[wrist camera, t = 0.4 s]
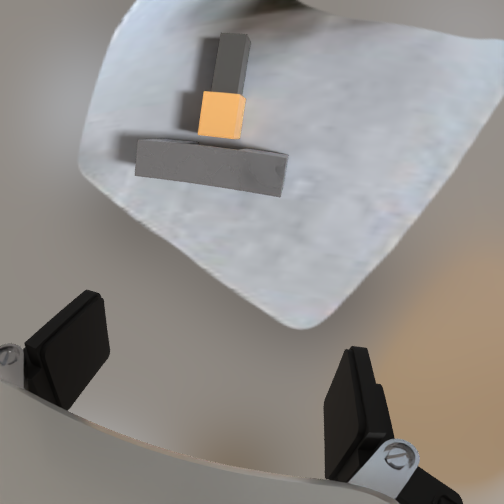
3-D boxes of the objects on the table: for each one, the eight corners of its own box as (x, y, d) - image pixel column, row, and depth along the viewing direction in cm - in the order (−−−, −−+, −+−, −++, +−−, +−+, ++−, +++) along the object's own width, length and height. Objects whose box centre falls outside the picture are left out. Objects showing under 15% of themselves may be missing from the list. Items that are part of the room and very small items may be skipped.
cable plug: (222, 39, 32) (214, 30, 28) (255, 42, 32) (250, 32, 28) (207, 134, 36) (197, 134, 33) (239, 138, 36) (233, 139, 32)
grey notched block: (161, 138, 37) (137, 140, 31) (288, 154, 36) (286, 158, 30) (158, 169, 39) (134, 175, 33) (283, 187, 37) (280, 197, 31)
